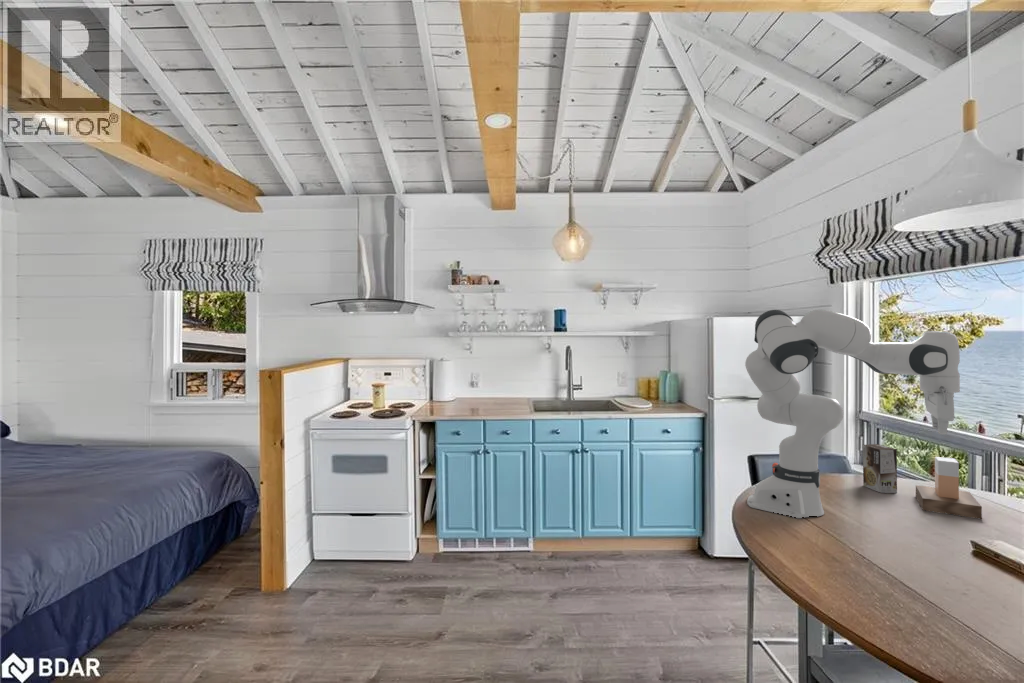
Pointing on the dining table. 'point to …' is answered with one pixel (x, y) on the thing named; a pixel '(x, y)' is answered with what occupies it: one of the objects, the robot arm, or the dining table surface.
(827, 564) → the dining table surface
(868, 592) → the dining table surface
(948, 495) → the block
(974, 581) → the dining table surface
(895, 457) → the coffee box
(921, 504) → the stand
